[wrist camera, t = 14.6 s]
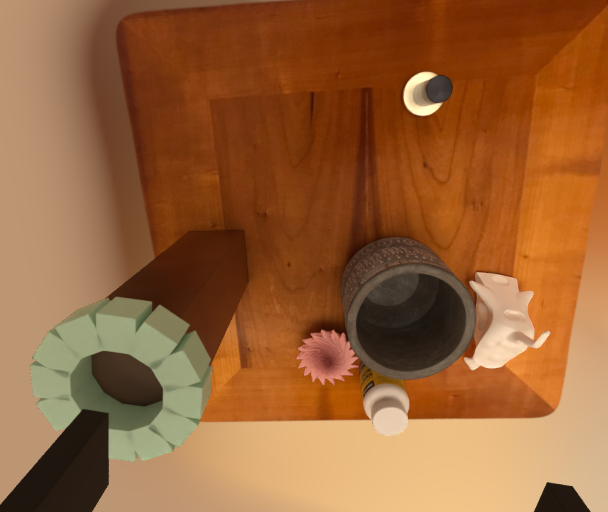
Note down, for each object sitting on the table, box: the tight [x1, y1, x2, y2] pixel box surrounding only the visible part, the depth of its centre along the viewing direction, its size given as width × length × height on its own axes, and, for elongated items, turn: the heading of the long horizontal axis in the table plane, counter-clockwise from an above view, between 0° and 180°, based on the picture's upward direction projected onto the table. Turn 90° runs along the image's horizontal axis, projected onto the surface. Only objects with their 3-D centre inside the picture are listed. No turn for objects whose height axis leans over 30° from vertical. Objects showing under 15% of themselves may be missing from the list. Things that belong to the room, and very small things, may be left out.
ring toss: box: [402, 72, 453, 117], centre depth 39 cm, size 4×4×6 cm
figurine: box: [464, 272, 550, 370], centre depth 46 cm, size 8×15×12 cm, turn 170°
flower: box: [296, 330, 358, 385], centre depth 50 cm, size 8×8×6 cm
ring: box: [30, 297, 212, 462], centre depth 25 cm, size 10×10×2 cm
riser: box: [91, 230, 249, 407], centre depth 38 cm, size 7×7×24 cm
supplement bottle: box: [359, 363, 409, 436], centre depth 49 cm, size 5×5×10 cm
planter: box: [341, 237, 476, 380], centre depth 43 cm, size 12×12×13 cm
